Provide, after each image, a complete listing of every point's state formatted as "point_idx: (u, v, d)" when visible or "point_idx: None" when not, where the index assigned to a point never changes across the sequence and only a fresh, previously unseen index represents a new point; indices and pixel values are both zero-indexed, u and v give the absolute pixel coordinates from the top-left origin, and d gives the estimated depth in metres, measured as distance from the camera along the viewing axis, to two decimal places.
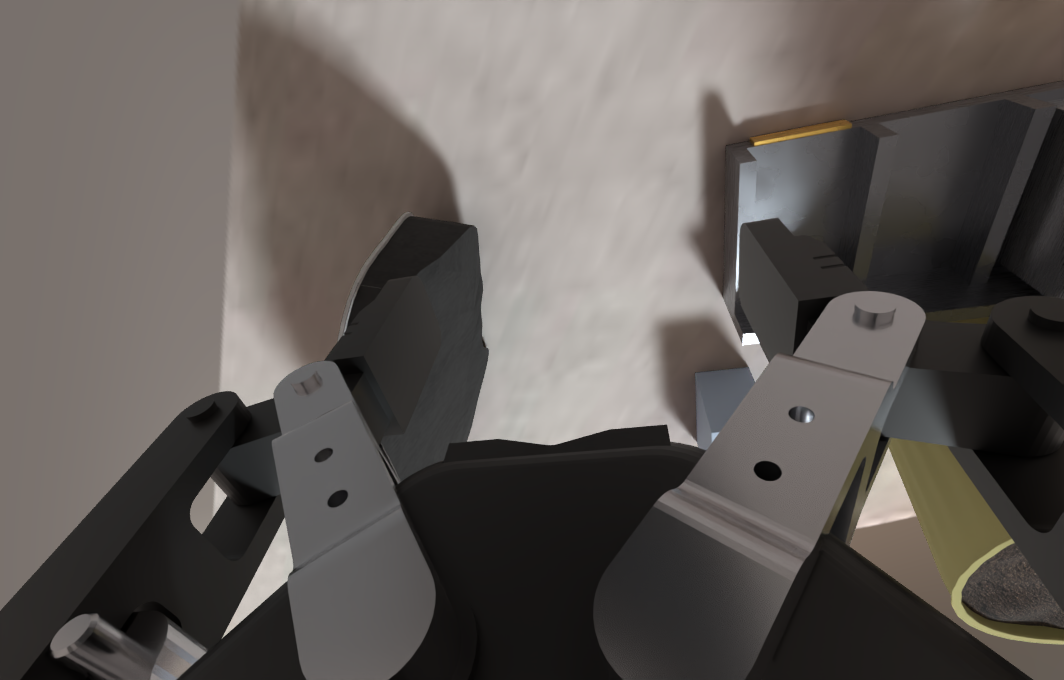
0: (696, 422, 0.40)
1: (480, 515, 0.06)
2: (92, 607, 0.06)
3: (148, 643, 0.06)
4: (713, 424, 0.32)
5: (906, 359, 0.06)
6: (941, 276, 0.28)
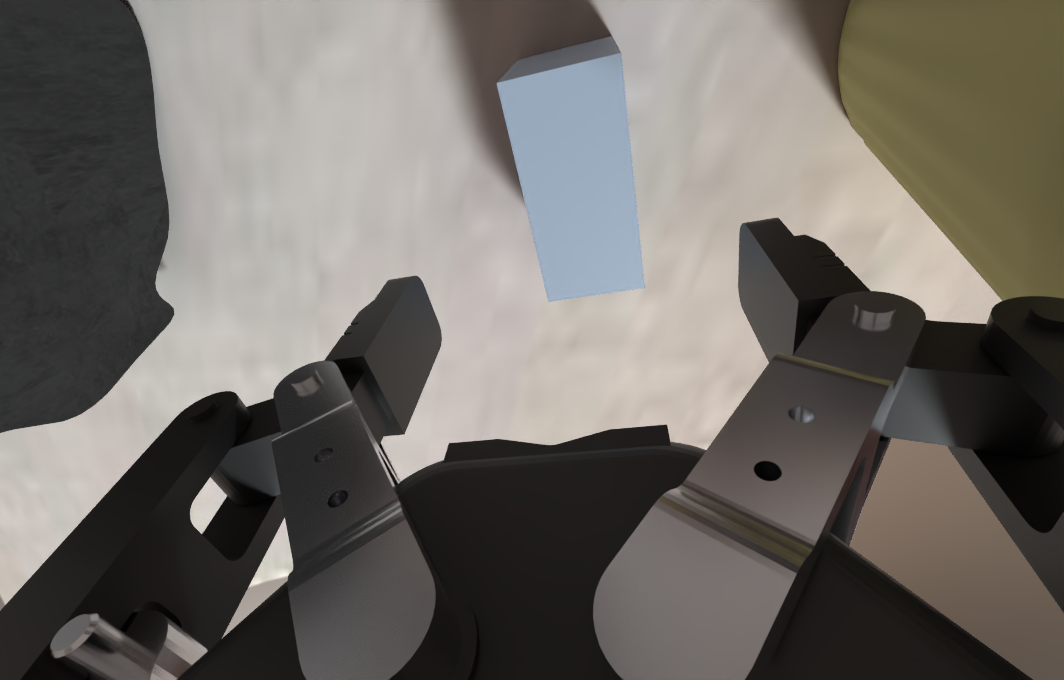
0: None
1: (480, 515, 0.06)
2: (92, 607, 0.06)
3: (148, 643, 0.06)
4: (508, 77, 0.15)
5: (906, 359, 0.06)
6: None
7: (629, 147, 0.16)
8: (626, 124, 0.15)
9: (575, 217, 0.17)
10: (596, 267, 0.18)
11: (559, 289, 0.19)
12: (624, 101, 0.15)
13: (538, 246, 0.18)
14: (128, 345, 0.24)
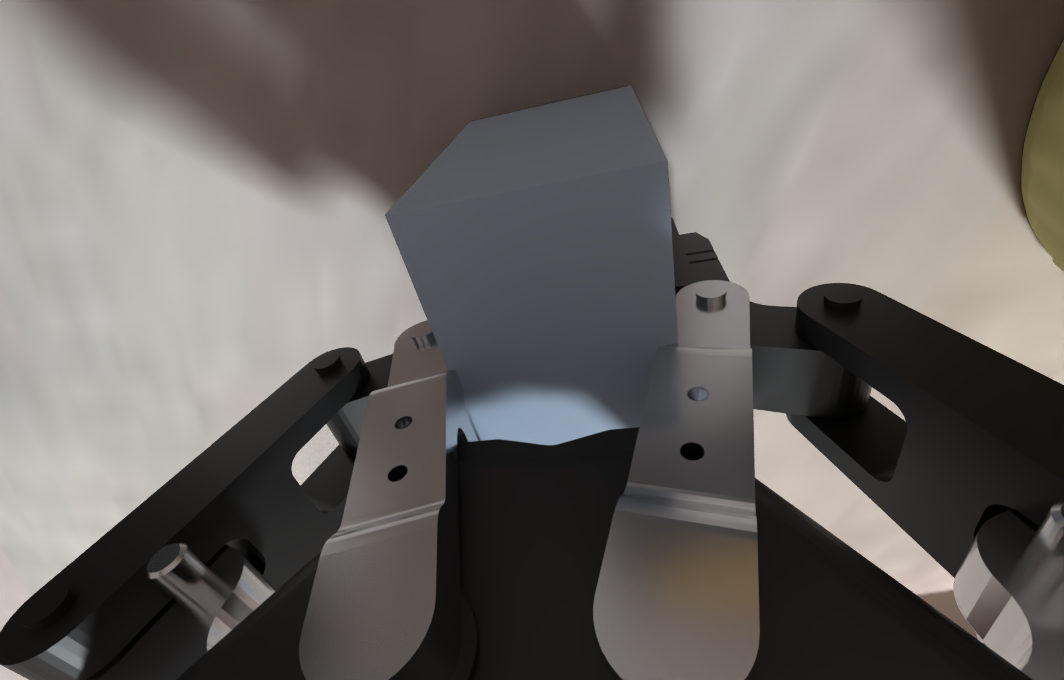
0: None
1: (480, 515, 0.06)
2: (189, 535, 0.07)
3: (223, 583, 0.07)
4: (418, 193, 0.07)
5: (719, 335, 0.07)
6: None
7: (675, 337, 0.07)
8: (671, 298, 0.07)
9: (563, 438, 0.09)
10: None
11: None
12: (670, 257, 0.07)
13: None
14: None
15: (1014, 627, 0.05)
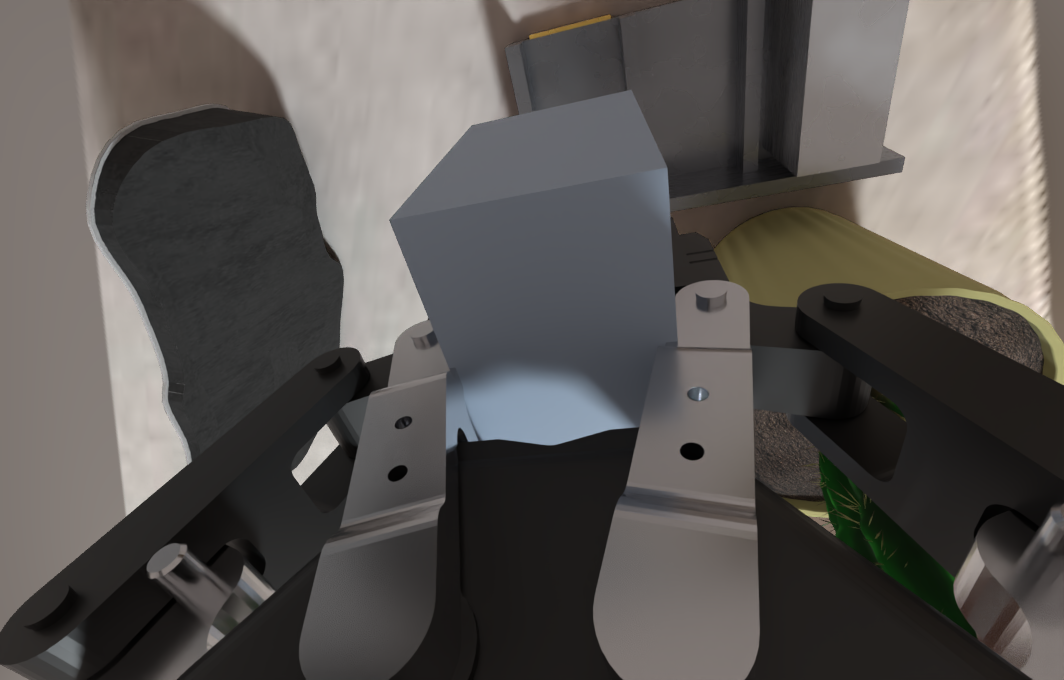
0: None
1: (480, 515, 0.06)
2: (189, 535, 0.07)
3: (223, 583, 0.07)
4: (421, 198, 0.07)
5: (719, 335, 0.07)
6: (724, 170, 0.30)
7: None
8: (671, 302, 0.07)
9: (563, 440, 0.09)
10: None
11: None
12: (669, 262, 0.07)
13: None
14: None
15: (1014, 628, 0.05)
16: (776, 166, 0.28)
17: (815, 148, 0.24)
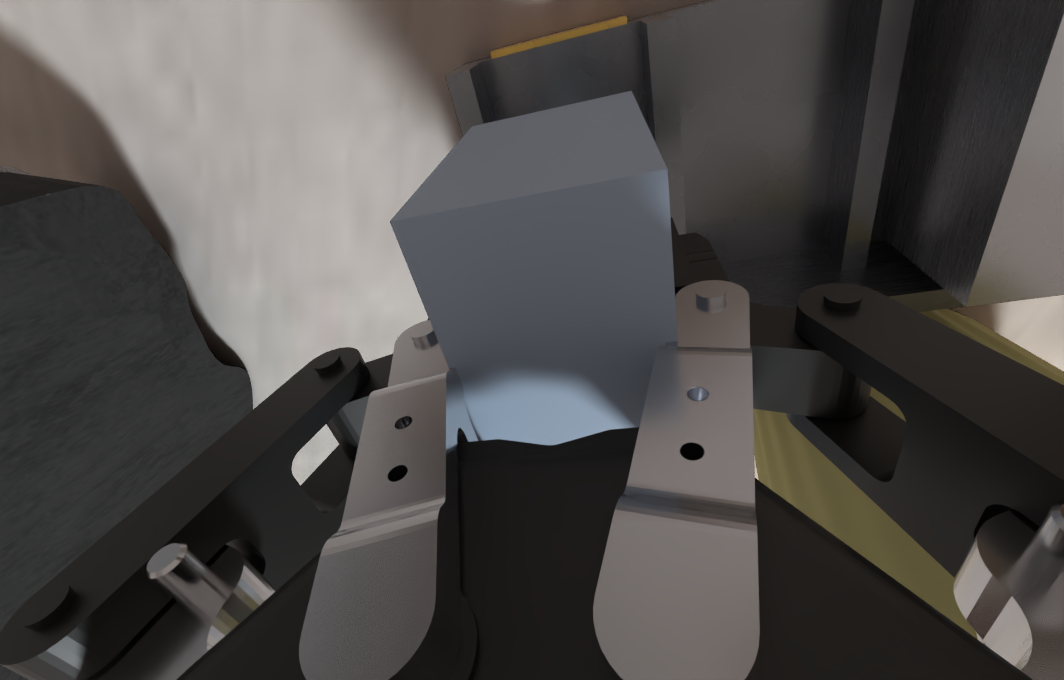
0: None
1: (480, 515, 0.06)
2: (189, 535, 0.07)
3: (223, 583, 0.07)
4: (422, 200, 0.07)
5: (719, 335, 0.07)
6: (805, 260, 0.19)
7: None
8: (671, 303, 0.07)
9: (564, 440, 0.09)
10: None
11: None
12: (669, 263, 0.07)
13: None
14: None
15: (1014, 627, 0.05)
16: (896, 261, 0.17)
17: (1010, 263, 0.13)
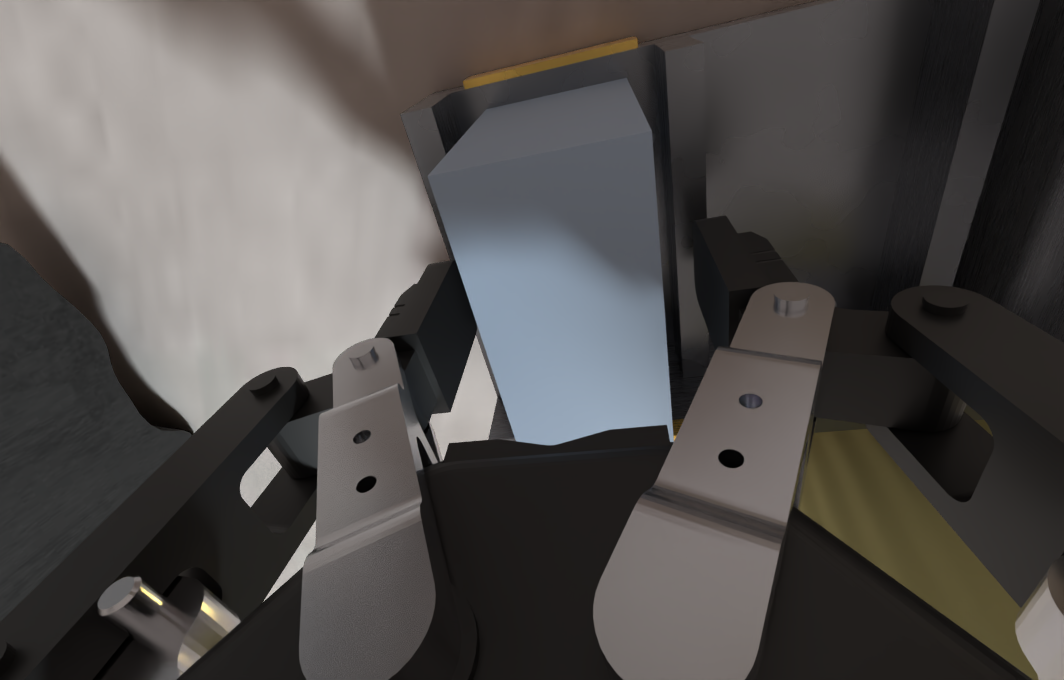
0: None
1: (480, 515, 0.06)
2: (139, 569, 0.06)
3: (184, 611, 0.06)
4: (452, 161, 0.09)
5: (810, 342, 0.07)
6: None
7: (660, 280, 0.09)
8: (656, 246, 0.09)
9: (567, 373, 0.11)
10: None
11: None
12: (655, 210, 0.08)
13: (510, 409, 0.11)
14: None
15: None
16: None
17: None
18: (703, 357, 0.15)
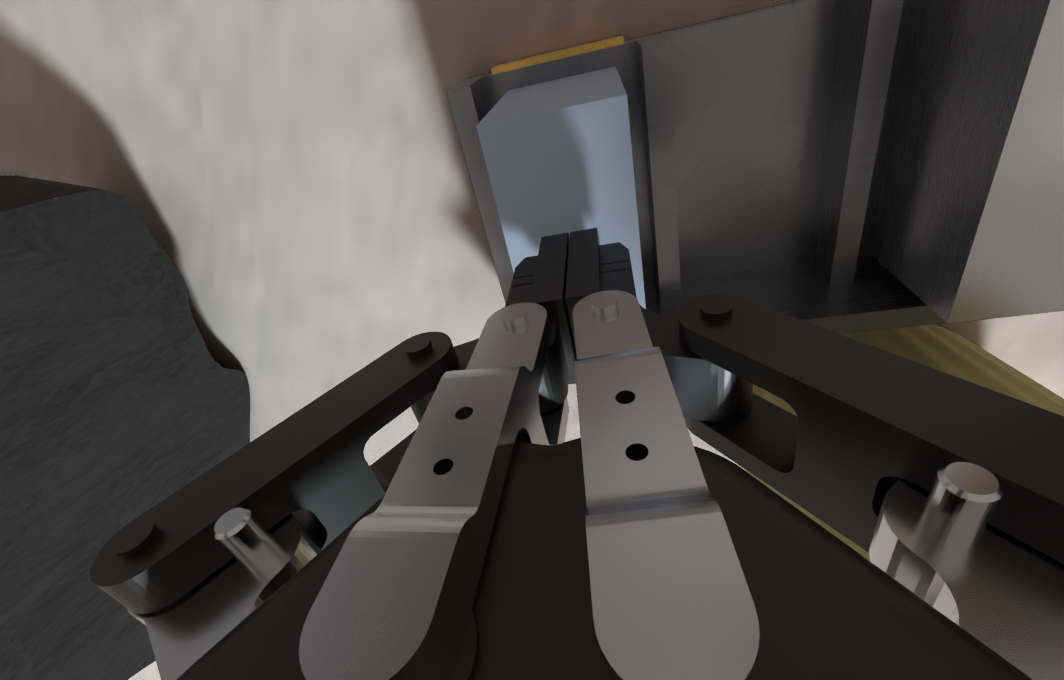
0: None
1: None
2: (258, 501, 0.07)
3: (279, 555, 0.07)
4: (491, 118, 0.13)
5: (602, 343, 0.08)
6: (795, 275, 0.19)
7: (635, 203, 0.13)
8: (632, 177, 0.13)
9: None
10: None
11: None
12: (630, 150, 0.12)
13: None
14: None
15: (935, 592, 0.05)
16: (883, 277, 0.18)
17: (989, 281, 0.13)
18: (676, 289, 0.19)
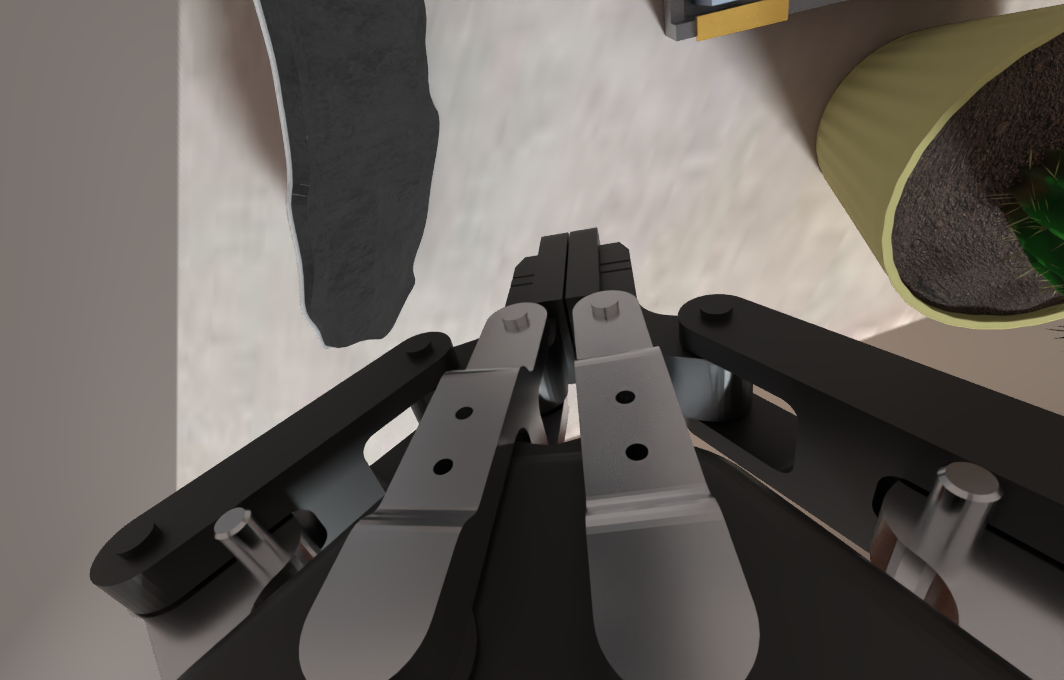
0: None
1: None
2: (258, 501, 0.07)
3: (279, 555, 0.07)
4: None
5: (602, 343, 0.08)
6: None
7: None
8: None
9: None
10: None
11: None
12: None
13: None
14: (400, 299, 0.41)
15: (934, 591, 0.05)
16: None
17: None
18: None
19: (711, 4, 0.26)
